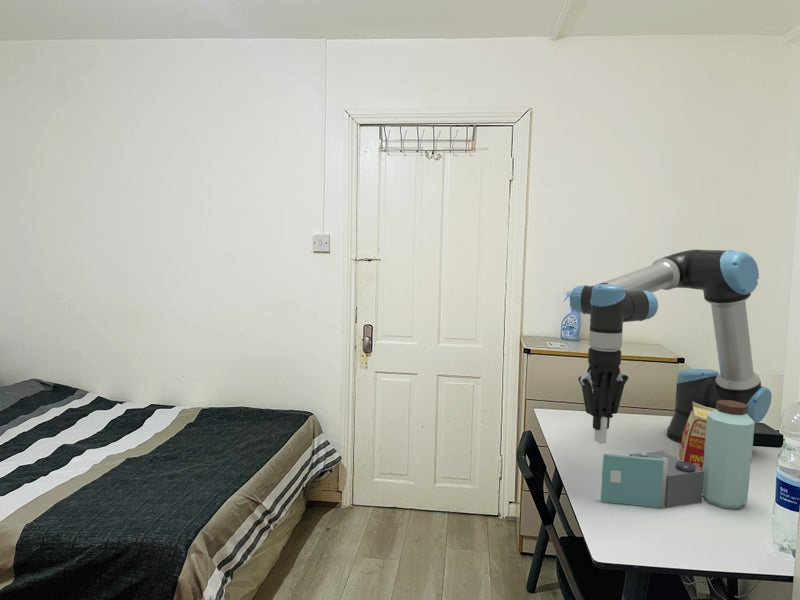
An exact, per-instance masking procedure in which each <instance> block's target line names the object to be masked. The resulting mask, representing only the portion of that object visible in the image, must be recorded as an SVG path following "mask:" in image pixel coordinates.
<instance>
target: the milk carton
mask: <svg viewBox="0 0 800 600" xmlns="http://www.w3.org/2000/svg"><path fill="white" fill-rule="evenodd" d="M713 410H714V409H713V408H709V407H705V406H702V405H700V404H697V403H694V402H693V408H692V411H691V413H690V416H689V418H688V420H687V423H686V425H685V427H684V431H683V436H682V440H681V443H679V453H678V454H679V456H678V457H679V458H678V459H680V460H682V461H684V462H688V463H691V464H694V465H695V466H696V468H698V469H700V470H702V471H703V462H704V451H705V439H706V427H707V416H708V414H709V413H710V412H712V411H713Z"/></svg>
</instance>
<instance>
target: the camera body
mask: <svg viewBox="0 0 800 600" xmlns="http://www.w3.org/2000/svg"><path fill="white" fill-rule="evenodd" d="M628 456H636V457H647V458H659V459H662V457H666V458H668V466H667V479H666V491H665V504H664V508H674V507H680V506H686V505H687V506H688V505H693V504H694V503H695V504H701V503H702V499H703V494H702V490H703V479H704V471H702V470H700V469H698V468H696V466H695V465H694V464H691V463H688V462H684V461H682V460H680V459H679V458H678V457H676V456H674V455H672V454H670V453H668V452H666V451H663V450H656V451H655V450H654V451H648V452H645V451H640V452H638V453H629V454H628Z"/></svg>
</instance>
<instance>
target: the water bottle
mask: <svg viewBox="0 0 800 600" xmlns="http://www.w3.org/2000/svg"><path fill="white" fill-rule="evenodd" d="M747 409H748V406H747V405H746V404H744V403H741V402H736V401H732V400H719V401H716V408H715V409H714V410H713V411H712V412H710V413H709V414H708V416H707V427H706V439H705V451H704V462H703V471H704V479H703V490H702V496H703V498H704V499H706V501H707V502H708V503H710V504H713V505H715V506H717V507H720V508H722V509H730V510H733V509H734V510H737V509H739V508H741V507H743V506H744V505H746V503H747V502H748V498H749V497H748V496H749V487H750V486H749V485H750V477H751V465H752V454H753V445H754V436H755V435H754V434H755V425H756V424H755V422H754V421H753V420H752V419H751V418H750V417H749V415H748V414H747Z"/></svg>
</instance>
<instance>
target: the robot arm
mask: <svg viewBox="0 0 800 600" xmlns="http://www.w3.org/2000/svg"><path fill="white" fill-rule="evenodd" d="M759 277H760V273H759V266H758V264H757V262H756V260H755V258H754V257H753V256H752V255H750V254H749V253H748V252H745V251H740V250H737V251H736V250H733V249H728V250H717V249H716V250H715V249H711V250H710V249H688V250H684V251H680V252H677V253H672V254H670V255H667V256H664V257H661V258H658V259H655V261H654V262H652V264H651V265H648V266H646V267H643V268H640V269H638V270H634V271H632V272H628V273H626V274H623V275H621V276H617V277H615V278H612V279H608V280H606V281H603V282H601V283H598V284H595V285H590V286H589V285H577V286H575V287H574V288H573V289H572V291H571V292H570V294H569V305H570V307H571V309H572V310H573V311H575V312H577V313H581V314H583V315H590V317H589V318H590V320H589V332H588V333H589V336H588V339H589V340H588V345H589V348H588V351H587V352H588V354H587V356H588V357H587V362H588V369H587V371H586V373H585V375H583V376H579V377H578V379H577V380H578V382H579V384H580V386H581V390H582V396H583V401H584V402H583V403H584V407H585V412H586V414H588V415H590V416H592V429H593V430H594V432H593V433H594V437H593V440H594V441H595V442H597V443H598V444H600V445H605V444H607V433H608V430H609V429H610V421H611V420H610V419H613V417H614V415H616V414H617V413H618V410H619V408H620V407H619V406H620V403H621V401H622V400H621V399H622V395H623V391H624V388H625V385H626V383H627V381H628V380H629V376H628V375H626V374H623V373H622V372H621V368H620V365H621V364H622V351H621V349H622V348H623V329H624V327H623V324H624V323H629V322H631V323H632V322H643V321H646V320H651V318H653V317H654V316H655V315H656V314H657V312H658V309H659V300H658V298H657V297H656V295H655V294H654V293H655V292H658V291H660V290H664V291H668V290H672V289H676V288H679V289H690V290H691V289H692V290H700V291H703V292H702V293H703V299H704V300H705V301H706V302H707V303H709V304H710V305H711V307H710V308H711V313H712V314H711V315H712V321H713V328H714V336H715V345H716V353H717V358H718V366H719V371H718V370H715V369H707V368H691V369H690V368H689V369H688V368H687V369H683V370H680V371H679V372H678V375H677V378H676V383H675V384H676V389H675V390H676V391H675V404H674V414H673V416H672V418H671V420H670V423H669V425H668V427H667V431H666V435H667V437H668V438H669V439H670V440H672V441H675V442H676V443H677V442H678V443H679V444H681V440H682V436H683V431H684V427H685V425H686V423H687V420H688V418H689V416H690V413H691V411H692V408H693V402H694V403H697V404H700V405H702V406H705V407H709V408H713V409H715V408H716V401H719V400H732V401H736V402H741V403H744V404H746V405H747V406H748V409H747V414H748V415H749V417H750V418H751V419H752V420H753V421H754V422H755V425H756V424H759V423H760V422H761V421H762V420H763V419H764V418H765V417H766V415H767V414H768V412H769V410H770V407H771V405H772V404H771V403H772V391H771V390H770V389H769V388H768V387H766V386H762V382H761V381H762V380H761V377H760V375H759V374H758V373H756V372H754V366H753V355H752V348H751V346H752V345H751V338H750V328H749V322H748V312H747V303H746V301H747V300H748V299H749V298H750V297H751V295H752V293H753V292H754V291H755V290H756V289H757V287H758V283H759V281H758V280H759V279H760V278H759Z"/></svg>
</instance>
